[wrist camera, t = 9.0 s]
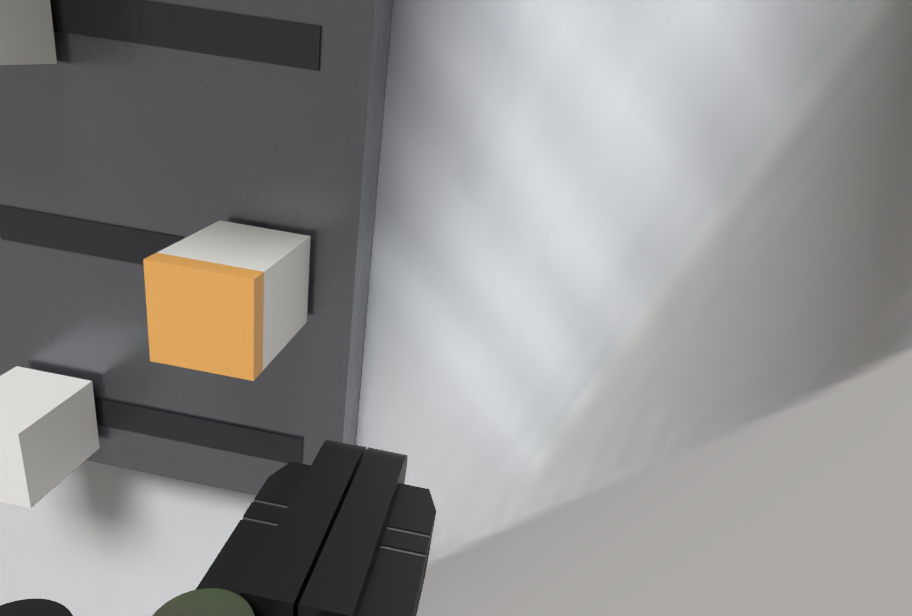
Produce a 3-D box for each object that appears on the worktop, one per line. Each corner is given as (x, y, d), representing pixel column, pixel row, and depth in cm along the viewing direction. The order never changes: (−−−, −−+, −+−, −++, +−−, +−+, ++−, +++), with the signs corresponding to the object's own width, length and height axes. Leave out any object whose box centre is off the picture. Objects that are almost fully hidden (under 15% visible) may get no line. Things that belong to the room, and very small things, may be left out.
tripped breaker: (310, 235, 20) (254, 279, 16) (306, 322, 21) (253, 381, 17) (219, 220, 20) (143, 259, 16) (221, 306, 21) (150, 361, 17)
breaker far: (92, 380, 23) (18, 433, 20) (99, 447, 24) (30, 508, 21) (16, 366, 23) (-69, 416, 20) (27, 433, 24) (-51, 490, 21)
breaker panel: (395, -35, 19) (377, -45, 17) (352, 479, 26) (336, 513, 24) (-97, -102, 20) (-167, -119, 18) (-4, 407, 27) (-46, 434, 25)
